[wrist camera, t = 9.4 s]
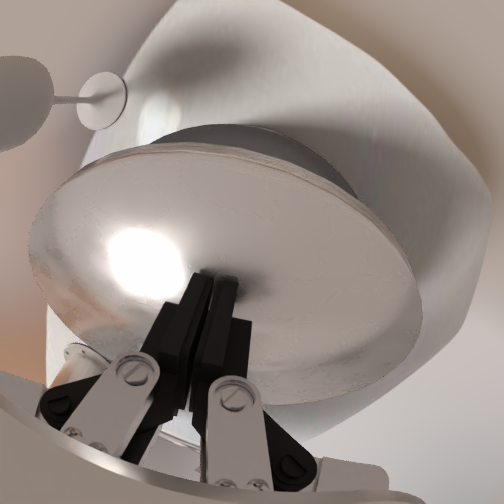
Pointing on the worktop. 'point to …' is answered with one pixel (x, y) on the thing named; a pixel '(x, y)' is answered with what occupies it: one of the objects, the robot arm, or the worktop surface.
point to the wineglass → (51, 100)
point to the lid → (230, 263)
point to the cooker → (260, 147)
